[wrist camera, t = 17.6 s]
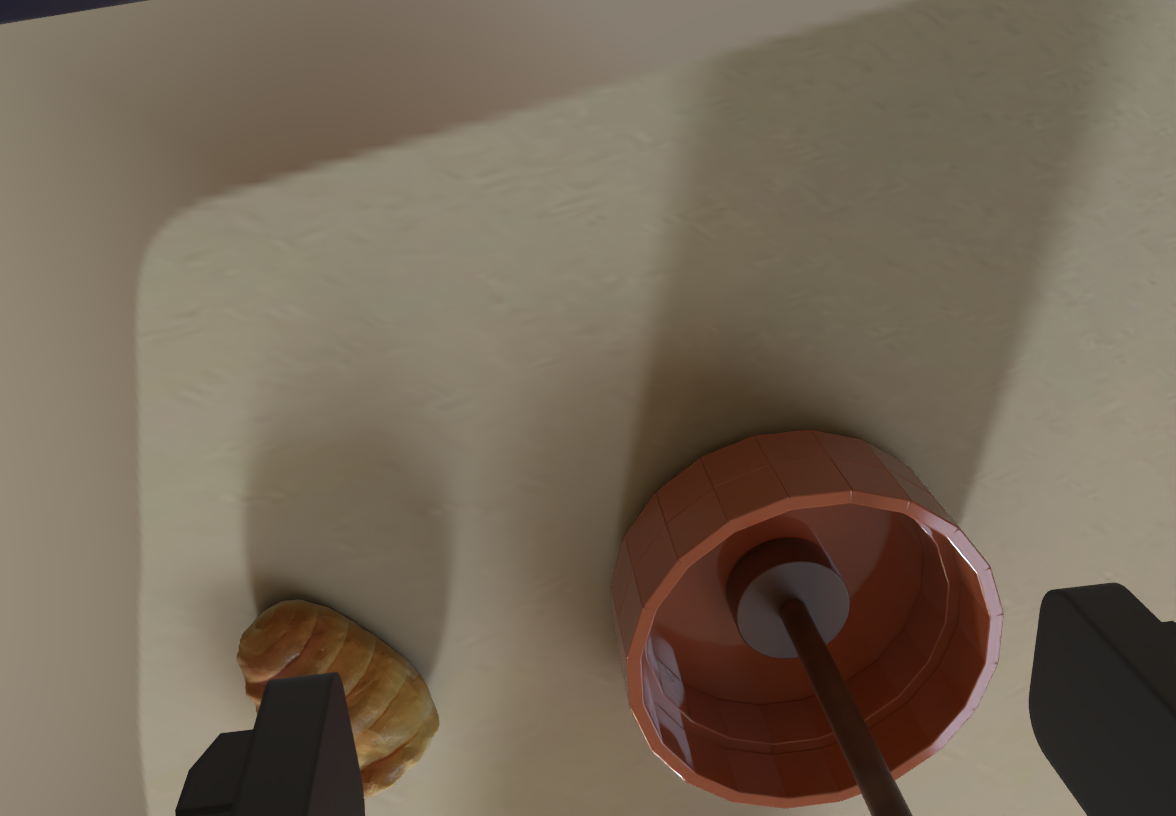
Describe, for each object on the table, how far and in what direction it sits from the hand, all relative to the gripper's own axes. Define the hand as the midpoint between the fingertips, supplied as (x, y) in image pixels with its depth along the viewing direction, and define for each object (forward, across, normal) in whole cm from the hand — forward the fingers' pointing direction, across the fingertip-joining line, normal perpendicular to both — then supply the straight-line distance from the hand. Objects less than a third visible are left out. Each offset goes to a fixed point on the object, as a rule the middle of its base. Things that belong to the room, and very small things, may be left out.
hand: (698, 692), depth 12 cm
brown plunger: (+29, -9, +19) cm, 36 cm away
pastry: (+30, +11, +22) cm, 39 cm away
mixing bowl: (+30, -9, +19) cm, 37 cm away
